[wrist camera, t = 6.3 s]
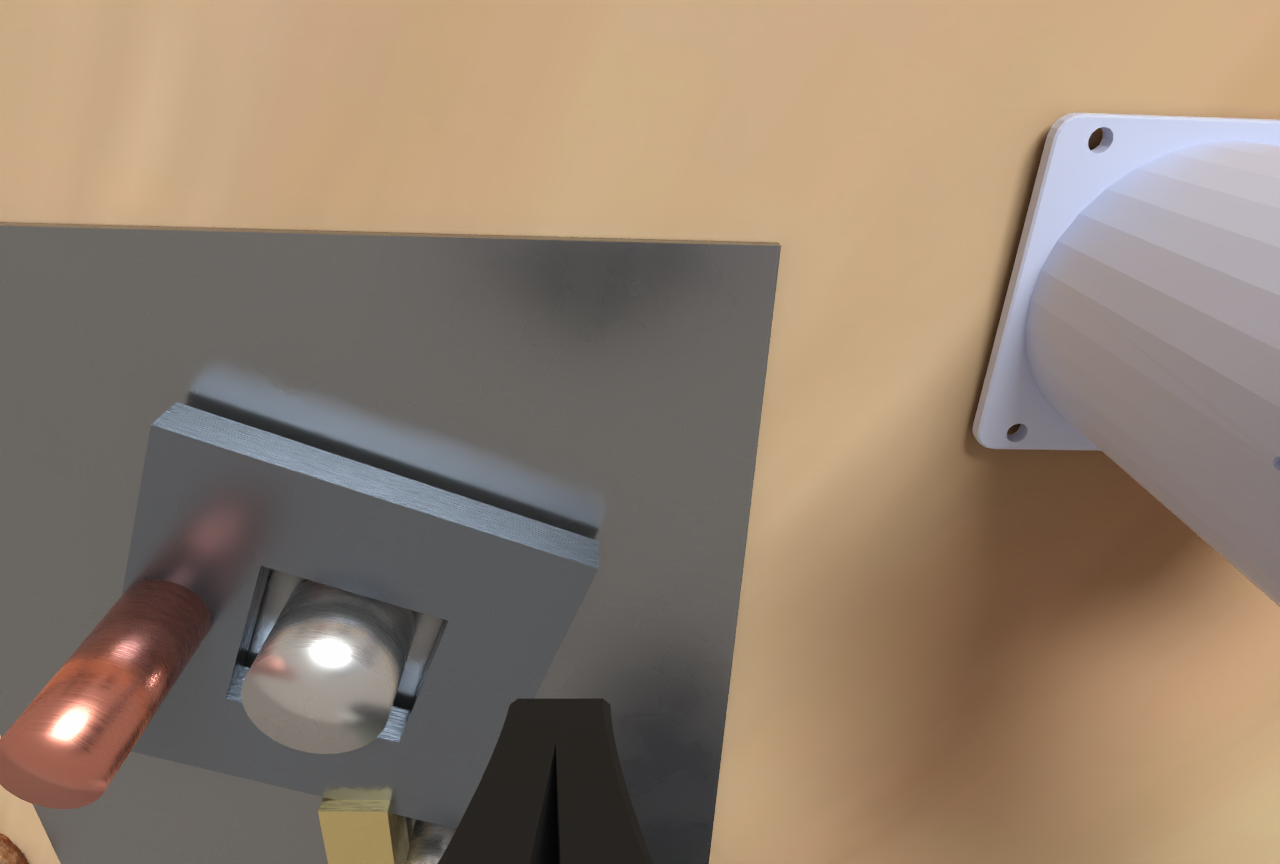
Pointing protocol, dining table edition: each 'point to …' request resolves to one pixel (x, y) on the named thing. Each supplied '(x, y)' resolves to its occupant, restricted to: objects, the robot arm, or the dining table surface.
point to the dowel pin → (428, 842)
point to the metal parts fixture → (228, 608)
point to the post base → (401, 444)
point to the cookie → (10, 852)
